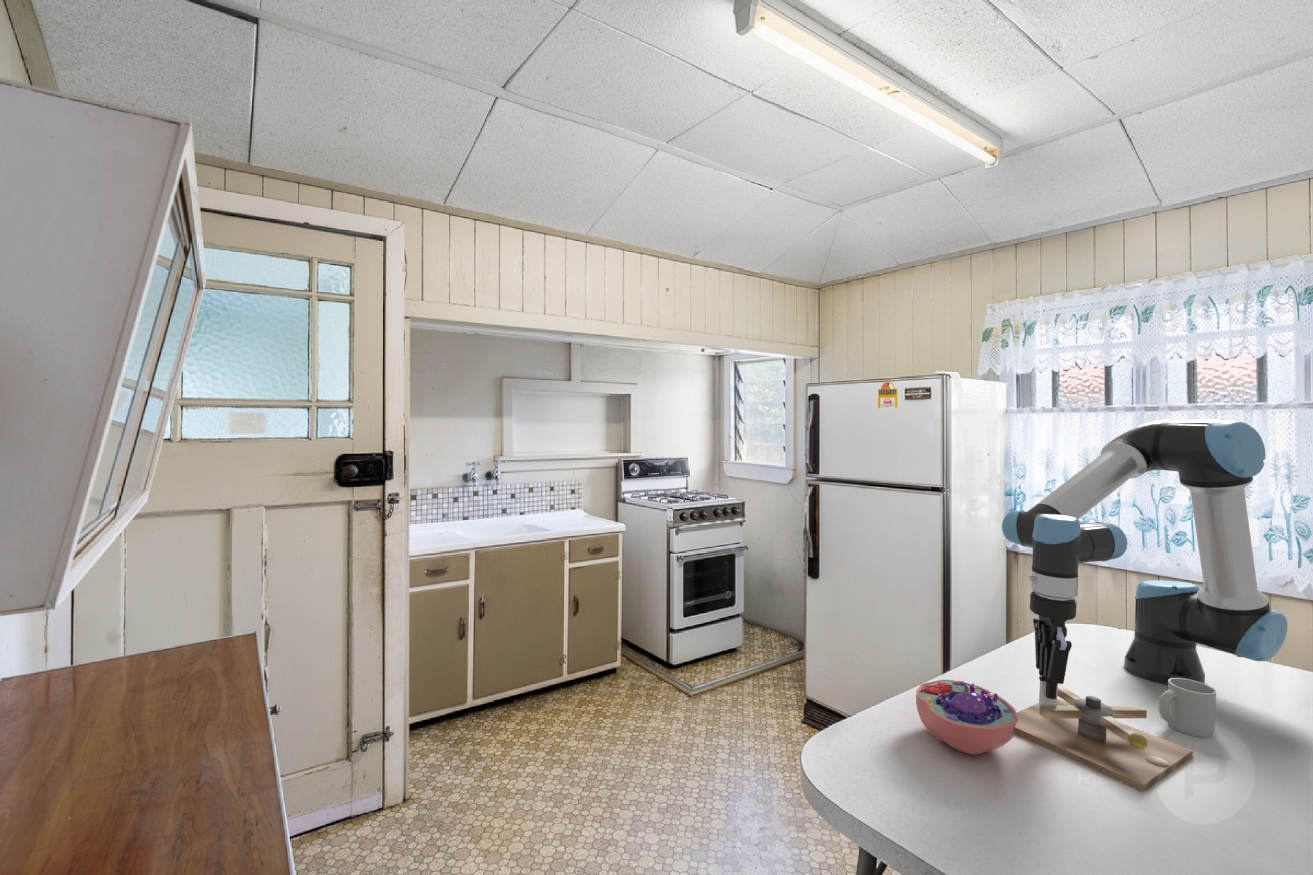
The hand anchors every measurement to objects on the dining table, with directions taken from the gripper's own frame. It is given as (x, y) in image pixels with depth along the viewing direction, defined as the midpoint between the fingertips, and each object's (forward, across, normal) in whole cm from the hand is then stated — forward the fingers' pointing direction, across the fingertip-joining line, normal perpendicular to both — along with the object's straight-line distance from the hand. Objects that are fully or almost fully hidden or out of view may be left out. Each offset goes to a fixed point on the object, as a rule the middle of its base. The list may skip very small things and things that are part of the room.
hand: (1047, 711), depth 115 cm
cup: (+5, -12, +28) cm, 31 cm away
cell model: (+5, +8, -17) cm, 19 cm away
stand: (+5, 0, +8) cm, 9 cm away
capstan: (0, 0, +8) cm, 8 cm away
